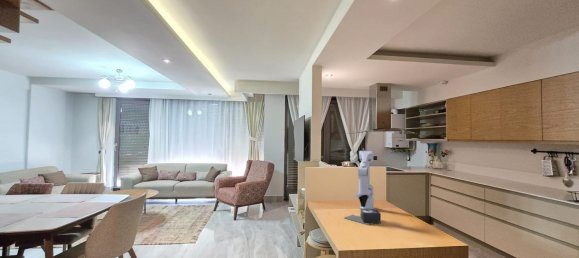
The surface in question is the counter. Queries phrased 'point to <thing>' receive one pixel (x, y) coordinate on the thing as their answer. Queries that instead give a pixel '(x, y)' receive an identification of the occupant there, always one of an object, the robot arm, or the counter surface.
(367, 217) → the small box
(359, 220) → the mat
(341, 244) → the counter surface
